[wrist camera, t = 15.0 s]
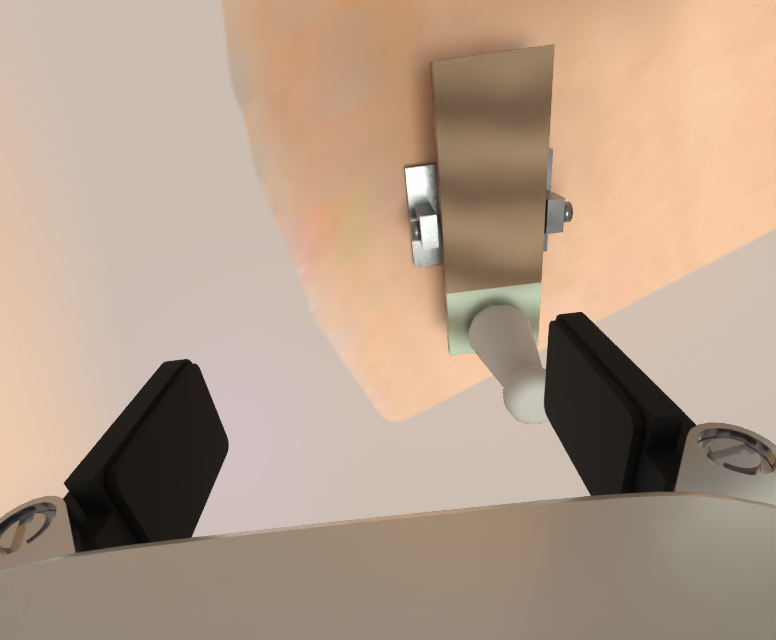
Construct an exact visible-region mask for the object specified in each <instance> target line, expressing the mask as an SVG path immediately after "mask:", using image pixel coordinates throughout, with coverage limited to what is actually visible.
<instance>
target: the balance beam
mask: <svg viewBox="0 0 776 640" xmlns="http://www.w3.org/2000/svg"><path fill="white" fill-rule="evenodd" d="M553 61H554V44H553V45H546V46H538V47H531V48H524V49H517V50H509V51H502V52H495V53H488V54H481V55H473V56H466V57H459V58H452V59H445V60H437V61H432V62H431V63H430V66H431V82H432V98H433V114H434V130H435V146H436V162H437V179H438V195H439V211H440V227H441V243H442V259H443V275H444V291H445V307H446V323H447V339H448V350H449V353H450V356H452V355H460V354H469V353H475V351H474V350H473V349H472V348H471V345H470V339H469V333H468V332H469V329H470V326H471V323H472V320H473V318H474V316H475V314H477V313H478V312H480V311H481V310H483V309H484V308H485V307H487V306H488V305H490V304H493V305H509V306H512V307H514V308H516V309H519V310H521V311H522V312H523V313H524V314H525V316H526V317H527V319H528V320H529V322H530V325H531V328H532V332H533V336H534V339H535V343H536V346H537V345H538V333H539V315H540V297H541V279H542V260H543V242H544V224H545V206H546V188H547V170H548V152H549V134H550V116H551V97H552V79H553Z"/></svg>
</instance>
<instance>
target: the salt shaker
mask: <svg viewBox="0 0 776 640" xmlns="http://www.w3.org/2000/svg"><path fill="white" fill-rule="evenodd" d="M468 333H469V339H470V345H471V348H472V349H473V350H474V351H475V353H476V354H477V355H478V356H479V358H480V359H481V360H482V361H483V363H484V364H485V365H486V366H487V367H488V369H489V370H490V371H491V372H492V374H493V375H494V376H495V377H496V379H497V380H498V381H499V382H500V384H501V385H502V386H503V387H504V388H503V398H504V404H505V406H506V408H507V410H508V411H509V412H510V413H511V415H512V416H513V417H514V418H515V419H516V420H518V421H520V422H523V423H525V424H540V423H543V422H546V421H549V419H548V418H547V416H546V413H545V409H544V391H545V377H546V369H543V368H542V364H541V361H540V357H539V354H538V350H537V346H536V343H535V339H534V336H533V332H532V328H531V325H530V322H529V320H528V319H527V317H526V316H525V314H524V313H523V312H522V311H521V310H519V309H516V308H514V307H512V306H509V305H493V304H490V305H488V306H487V307H485V308H484V309H483V310H481V311H480V312H478V313H477V314H475V316H474V318H473V320H472V323H471V326H470V329H469V332H468Z"/></svg>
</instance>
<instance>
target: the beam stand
mask: <svg viewBox="0 0 776 640" xmlns="http://www.w3.org/2000/svg"><path fill="white" fill-rule="evenodd" d="M552 155H553V149H549V152H548V170H547V188H546V206H545V224H544V242H543V251H547V238H548V234H551V233H559V232H563V223H564V222H570V221H571V219H572V215H573V209H572V205H571V203H570V202H565V198H564V197H561V196H559V195H557V194H555V193H553V192H551V191H550V188H551V172H552ZM405 178H406V188H407V198H408V209H409V219H410V229H411V240H412V250H413V261H414V267H422V266H430V265H438V264H443V259H442V243H441V227H440V211H439V195H438V179H437V163H434V164H426V165H419V166H411V167H405Z"/></svg>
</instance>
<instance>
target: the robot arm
mask: <svg viewBox="0 0 776 640" xmlns="http://www.w3.org/2000/svg"><path fill="white" fill-rule="evenodd" d="M544 409H545V413H546V416H547V418H548V419H549V421H550V423H551V425H552V427H553V428H554V430H555V432H556V434H557V435H558V437H559V439H560V441H561V443H562V445H563V446H564V448H565V450H566V452H567V453H568V455H569V457H570V459H571V461H572V462H573V464H574V466H575V468H576V470H577V471H578V473H579V475H580V477H581V479H582V480H583V482H584V484H585V486H586V488H587V489H588V491H589V493H590V495H591V496H585V497H575V498H565V499H554V500H541V501H532V502H522V503H512V504H502V505H492V506H482V507H472V508H462V509H453V510H442V511H432V512H422V513H413V514H404V515H394V516H385V517H376V518H366V519H356V520H347V521H338V522H328V523H319V524H311V525H301V526H291V527H283V528H274V529H265V530H257V531H247V532H238V533H229V534H221V535H211V536H203V537H194V538H191V537H192V535H193V532H194V530H195V528H196V525H197V523H198V521H199V518H200V516H201V514H202V511H203V509H204V507H205V504H206V502H207V499H208V497H209V494H210V492H211V490H212V488H213V485H214V483H215V481H216V478H217V476H218V474H219V471H220V469H221V467H222V464H223V462H224V459H225V457H226V455H227V452H228V445H229V444H228V438H227V435H226V433H225V430H224V428H223V425H222V423H221V421H220V418H219V415H218V413H217V410H216V408H215V405H214V403H213V400H212V398H211V395H210V393H209V390H208V388H207V385H206V383H205V380H204V378H203V375H202V373H201V370H200V368H199V367H198V365H197V364H192V362H191V361H190V360H188V359H184V360H175V361H167V362H164V363H163V364H162V365H161V366H160V367H159V368H158V370H157V371H156V372H155V373H154V374H153V376H152V377H151V378H150V379H149V380H148V382H147V383H146V384H145V385H144V386H143V388H142V389H141V390H140V391H139V393H138V394H137V395H136V396H135V397H134V399H133V400H132V401H131V402H130V403H129V405H128V406H127V407H126V408H125V410H124V411H123V412H122V413H121V414H120V416H119V417H118V418H117V419H116V421H115V422H114V423H113V424H112V425H111V426H110V428H109V429H108V430H107V431H106V433H105V434H104V435H103V436H102V438H101V439H100V440H99V441H98V442H97V443H96V445H95V446H94V447H93V448H92V450H91V451H90V452H89V453H88V454H87V456H86V457H85V458H84V459H83V460H82V462H81V463H80V464H79V465H78V466H77V468H76V469H75V470H74V471H73V472H72V474H71V475H70V476H69V477H68V479H67V480H66V481H65V482H64V484H65V486H66V487H67V489H68V490H69V492H68V493H67V495H66V496H65V497H64V498H63V499H62V498H60V497H57V496H45V497H41V498H37V499H34V500H31V501H29V502H27V503H24V504H22V505H20V506H18V507H16V508H15V509H13V510H11V511H10V512H8V513H6V514H5V515H4V516H2V517H1V518H0V640H776V445H775V444H773V443H772V442H771V441H769V440H768V439H766V438H764V437H762V436H761V435H759V434H757V433H755V432H753V431H750V430H747V429H744V428H742V427H739V426H735V425H730V424H725V423H705V424H700V425H696V424H695V423H694V422H693V421H692V420H691V419H690V418H689V417H688V416H687V415H685V413H684V412H683V411H682V410H681V409H680V408H679V407H678V406H677V405H676V404H675V403H674V402H673V401H672V400H671V399H670V398H669V397H668V396H667V395H666V394H665V393H664V392H663V391H662V390H661V389H660V388H659V387H658V386H657V385H656V384H655V383H653V381H652V380H651V379H649V377H648V376H647V375H646V374H645V373H644V372H642V371H641V369H640V368H638V367H637V366H636V365H635V364H634V363H633V362H632V361H631V360H630V359H629V358H628V357H627V356H626V355H625V354H624V353H623V352H622V351H621V350H620V349H619V348H618V347H617V346H616V345H615V344H614V343H613V342H612V341H611V340H610V339H609V338H608V337H607V336H606V335H605V334H604V333H603V332H602V331H601V330H600V329H599V328H598V327H597V326H596V325H595V324H594V323H593V322H592V321H591V320H590V319H589V318H588V317H587V316H586V315H585V314H584V313H582V312H576V313H568V314H559V315H558V316H557V317H556V320H555V321H551V322H550V324H549V334H548V348H547V364H546V377H545V391H544Z"/></svg>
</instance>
